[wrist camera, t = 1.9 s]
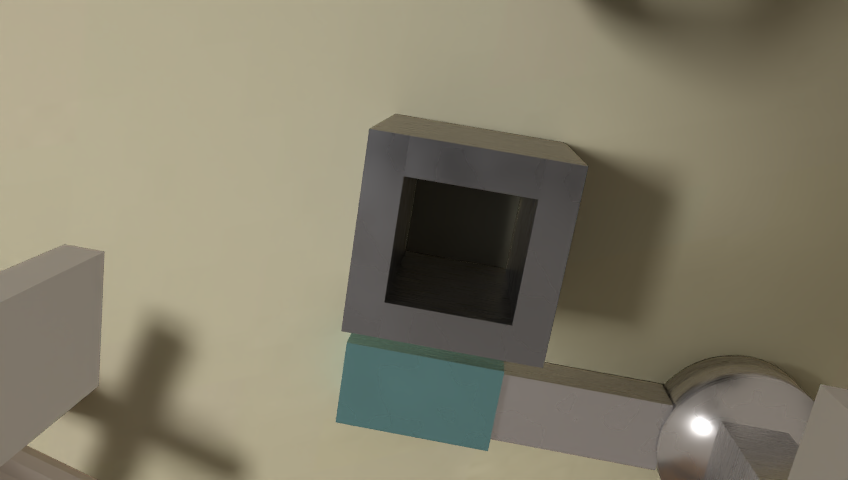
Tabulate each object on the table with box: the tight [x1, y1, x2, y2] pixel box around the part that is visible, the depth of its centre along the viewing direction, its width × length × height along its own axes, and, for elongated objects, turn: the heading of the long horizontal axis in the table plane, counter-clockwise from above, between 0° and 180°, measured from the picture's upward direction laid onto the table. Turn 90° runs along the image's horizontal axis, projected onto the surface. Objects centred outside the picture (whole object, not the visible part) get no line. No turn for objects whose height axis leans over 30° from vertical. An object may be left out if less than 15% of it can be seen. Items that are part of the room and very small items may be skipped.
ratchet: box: [336, 333, 814, 480], centre depth 24 cm, size 6×19×8 cm, turn 81°
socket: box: [342, 114, 588, 368], centre depth 23 cm, size 6×6×6 cm
